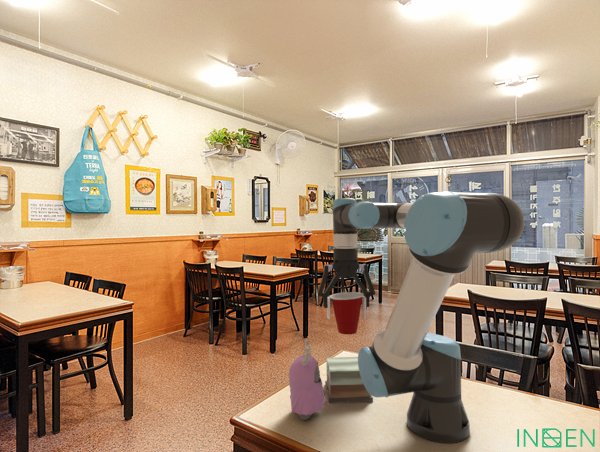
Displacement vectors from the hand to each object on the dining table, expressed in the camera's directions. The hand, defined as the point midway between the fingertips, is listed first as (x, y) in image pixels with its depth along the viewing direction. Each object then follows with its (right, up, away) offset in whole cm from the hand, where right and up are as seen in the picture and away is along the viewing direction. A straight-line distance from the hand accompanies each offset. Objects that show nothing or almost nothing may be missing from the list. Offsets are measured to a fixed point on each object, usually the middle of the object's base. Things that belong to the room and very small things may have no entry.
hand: (346, 317), depth 116 cm
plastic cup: (0, -5, 0) cm, 5 cm away
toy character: (-12, -24, -14) cm, 30 cm away
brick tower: (0, -23, 0) cm, 23 cm away
